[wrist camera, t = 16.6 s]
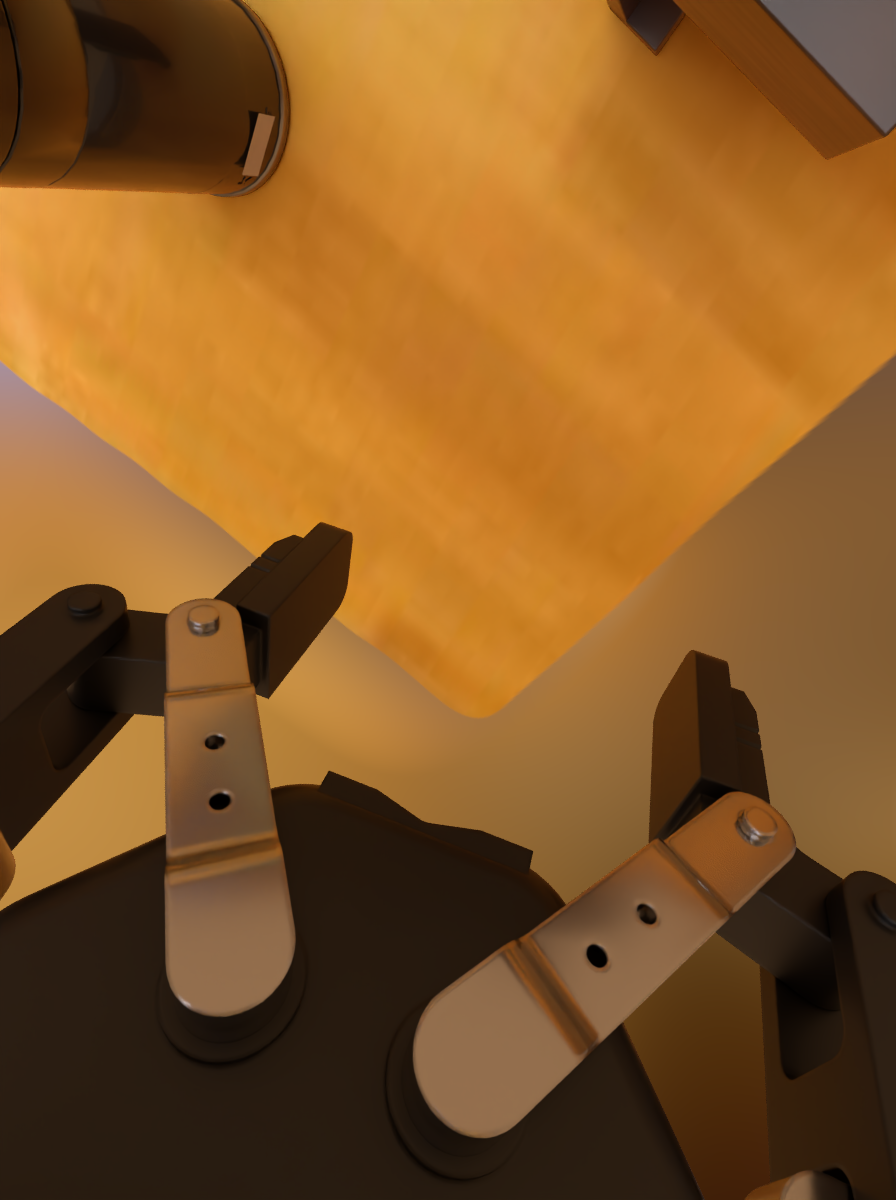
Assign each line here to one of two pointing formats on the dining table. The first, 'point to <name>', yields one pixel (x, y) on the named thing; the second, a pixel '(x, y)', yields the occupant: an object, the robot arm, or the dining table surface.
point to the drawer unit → (797, 58)
